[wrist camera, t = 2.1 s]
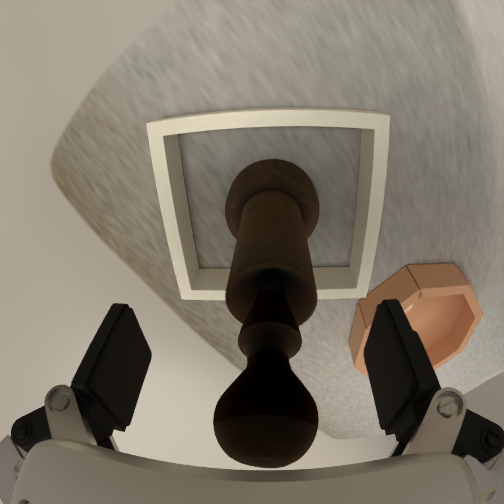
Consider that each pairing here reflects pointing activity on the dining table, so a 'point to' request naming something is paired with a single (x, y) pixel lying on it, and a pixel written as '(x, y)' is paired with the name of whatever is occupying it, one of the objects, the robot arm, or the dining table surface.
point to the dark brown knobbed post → (269, 315)
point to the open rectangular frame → (167, 129)
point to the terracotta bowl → (423, 310)
